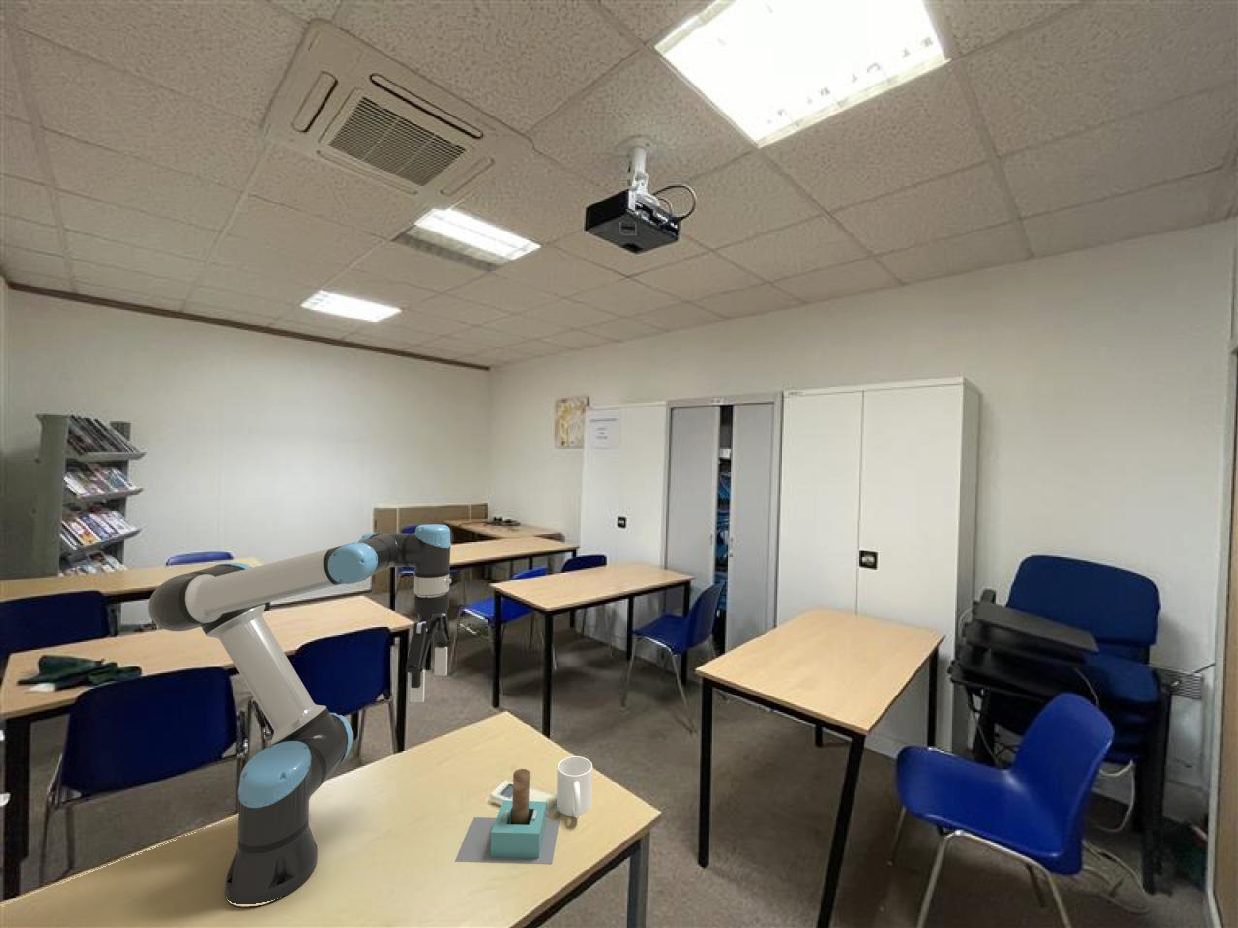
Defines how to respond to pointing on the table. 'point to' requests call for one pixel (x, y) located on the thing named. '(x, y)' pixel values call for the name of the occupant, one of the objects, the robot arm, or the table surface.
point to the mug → (574, 786)
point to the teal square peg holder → (518, 832)
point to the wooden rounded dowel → (521, 797)
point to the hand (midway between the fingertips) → (429, 687)
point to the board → (479, 844)
